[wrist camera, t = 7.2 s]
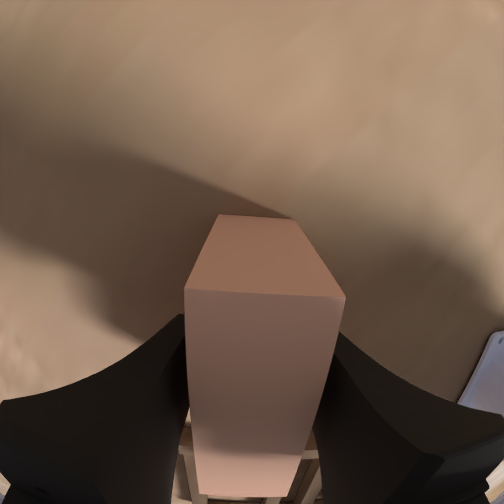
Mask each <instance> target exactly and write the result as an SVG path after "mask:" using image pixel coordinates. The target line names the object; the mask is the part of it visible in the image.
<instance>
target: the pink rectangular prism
mask: <svg viewBox="0 0 504 504" xmlns="http://www.w3.org/2000/svg"><path fill="white" fill-rule="evenodd" d="M345 301H346V296H345V294H344V293H343V291H342V290H341V288H340V287H339V285H338V283H337V282H336V280H335V279H334V277H333V276H332V274H331V273H330V271H329V270H328V268H327V267H326V265H325V264H324V262H323V261H322V259H321V258H320V256H319V255H318V253H317V252H316V250H315V249H314V247H313V246H312V244H311V243H310V241H309V240H308V238H307V237H306V235H305V234H304V233H303V231H302V230H301V228H300V227H299V225H298V224H297V222H296V221H295V220H294V219H281V218H268V217H253V216H238V215H222V214H219V215H218V217H217V219H216V221H215V223H214V225H213V227H212V229H211V231H210V233H209V235H208V237H207V240H206V242H205V244H204V246H203V248H202V250H201V252H200V254H199V257H198V259H197V261H196V263H195V265H194V267H193V269H192V272H191V274H190V276H189V278H188V280H187V283H186V285H185V287H184V312H185V340H186V360H187V377H188V391H189V404H190V416H191V427H192V437H193V447H194V456H195V464H196V472H197V480H198V488H199V494H207V495H219V496H236V497H287V494H288V492H289V489H290V487H291V484H292V482H293V479H294V477H295V474H296V471H297V469H298V466H299V463H300V461H301V458H302V455H303V452H304V449H305V446H306V444H307V441H308V438H309V435H310V432H311V429H312V426H313V422H314V419H315V416H316V413H317V410H318V406H319V403H320V400H321V396H322V393H323V390H324V386H325V383H326V379H327V375H328V372H329V368H330V364H331V360H332V357H333V353H334V349H335V345H336V341H337V337H338V332H339V328H340V324H341V319H342V315H343V310H344V306H345Z"/></svg>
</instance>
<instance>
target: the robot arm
mask: <svg viewBox="0 0 504 504" xmlns="http://www.w3.org/2000/svg"><path fill="white" fill-rule="evenodd" d="M189 407H190V404H189V391H188V377H187V360H186V340H185V314H178V315H177V316H176V317H175V318H174V319H172V320H171V321H170V322H169V323H168V324H167V325H165V326H164V327H163V328H162V329H161V330H160V331H159V332H157V333H156V334H155V335H154V336H153V337H151V338H150V339H149V340H148V341H146V342H145V343H144V344H143V345H141V346H140V347H138V348H137V349H136V350H134V351H133V352H132V353H130V354H129V355H127V356H126V357H124V358H123V359H121V360H119V361H118V362H116V363H115V364H113V365H111V366H109V367H107V368H106V369H104V370H102V371H100V372H98V373H96V374H93V375H91V376H89V377H87V378H84V379H82V380H80V381H77V382H75V383H73V384H70V385H67V386H64V387H61V388H58V389H55V390H51V391H48V392H44V393H40V394H36V395H31V396H26V397H21V398H15V399H9V400H3V401H2V402H1V404H0V472H1V474H2V475H3V476H4V477H5V478H6V479H7V480H8V482H9V483H10V484H11V486H10V488H9V489H8V491H7V493H6V495H5V496H4V495H2V494H1V493H0V504H171V496H172V488H173V480H174V472H175V465H176V458H177V452H178V447H179V442H180V438H181V435H182V431H183V428H184V424H185V421H186V417H187V414H188V410H189ZM312 430H313V434H314V437H315V441H316V445H317V450H318V455H319V463H320V472H321V481H322V492H323V504H504V495H503V496H501V497H500V498H498V499H496V500H494V501H492V502H491V503H489V501H488V499H487V497H486V495H485V493H484V492H486V491H487V490H488V489H489V484H488V482H487V481H486V478H487V477H488V476H489V475H490V474H491V473H492V471H493V470H494V469H495V468H496V467H497V466H498V465H499V464H500V463H501V461H502V460H503V461H504V331H499V332H495V333H493V334H492V335H491V336H490V338H489V340H488V343H487V345H486V347H485V350H484V352H483V354H482V356H481V358H480V360H479V363H478V365H477V367H476V369H475V371H474V373H473V375H472V377H471V379H470V381H469V383H468V384H467V386H466V388H465V390H464V392H463V394H462V396H461V397H460V399H459V401H458V403H454V402H450V401H448V400H445V399H443V398H440V397H437V396H435V395H433V394H431V393H428V392H426V391H424V390H422V389H420V388H418V387H416V386H414V385H412V384H410V383H408V382H407V381H405V380H403V379H401V378H400V377H398V376H396V375H395V374H393V373H392V372H390V371H388V370H387V369H385V368H384V367H383V366H381V365H380V364H379V363H377V362H376V361H374V360H373V359H372V358H370V357H369V356H368V355H366V354H365V353H364V352H363V351H361V350H360V349H359V348H358V347H357V346H355V345H354V344H353V343H352V342H351V341H350V340H348V339H347V338H346V337H345V336H344V335H343V334H341V333H340V332H338V337H337V341H336V345H335V349H334V353H333V357H332V360H331V364H330V368H329V372H328V375H327V379H326V383H325V386H324V390H323V393H322V396H321V400H320V403H319V406H318V410H317V413H316V416H315V419H314V422H313V426H312Z"/></svg>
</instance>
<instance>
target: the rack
mask: <svg viewBox="0 0 504 504" xmlns="http://www.w3.org/2000/svg"><path fill="white" fill-rule="evenodd" d="M178 450H179V454H183V455H184V461H185V467H186V473H187V478H188V483H189V489H190V494H191V499H192V504H323V499H322V500H315V499H316V498H317V496H318V494H319V492H320V491H321V489H322V481H321V472H320V463H319V455H318V450H317V445H316V441H315V437H314V434H313V432H310V435H309V438H308V441H307V444H306V446H305V449H304V452H303V455H302V458H301V459H312V460H311V462H310V465H309V467H308V470H307V472H306V474H305V477H304V479H303V481H302V483H301V486H300V488H299V490H298V492H297V495H296V497H295V499H294V501H293V502H280V499H281V497H263V498H262V501H261V503H248V502H225V501H212V500H208V497H207V494H199V488H198V480H197V472H196V464H195V456H194V447H193V437H192V428H191V427H184V428H183V431H182V435H181V438H180V442H179V447H178Z"/></svg>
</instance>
